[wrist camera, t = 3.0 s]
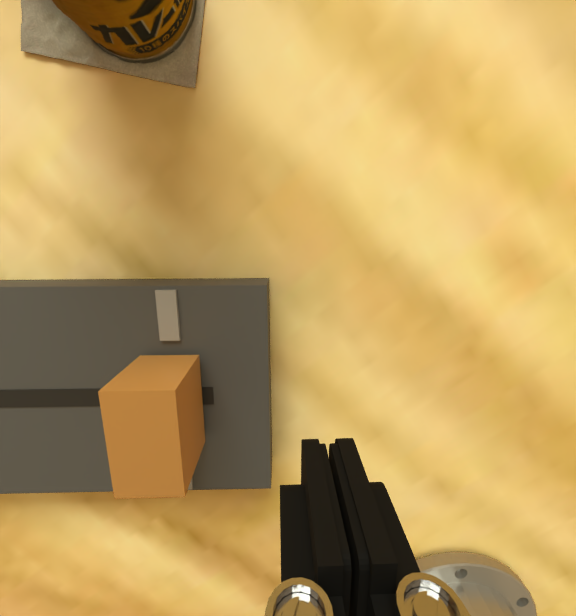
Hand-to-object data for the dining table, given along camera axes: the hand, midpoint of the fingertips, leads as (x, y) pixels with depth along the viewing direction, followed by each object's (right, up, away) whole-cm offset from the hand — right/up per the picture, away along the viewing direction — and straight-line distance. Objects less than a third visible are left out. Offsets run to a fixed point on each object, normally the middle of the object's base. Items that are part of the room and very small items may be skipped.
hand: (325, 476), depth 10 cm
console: (-15, +1, +9) cm, 18 cm away
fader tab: (-7, +1, +6) cm, 10 cm away
